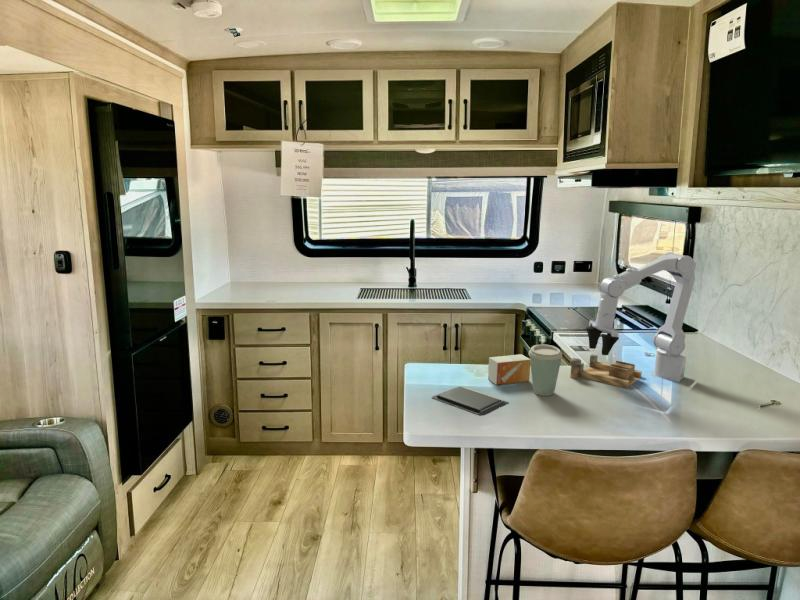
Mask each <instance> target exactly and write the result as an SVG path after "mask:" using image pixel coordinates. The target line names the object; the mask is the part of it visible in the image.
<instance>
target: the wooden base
mask: <svg viewBox="0 0 800 600" xmlns="http://www.w3.org/2000/svg"><path fill="white" fill-rule="evenodd" d="M598 358H599V356H598V354H591V355H590V356H589V366H588V367H587V368H585V367H584V366H585V364H584V363H583V362H582V359H580V358H574V357H572V358H570V360H569V365H570V377H569V378H571V379H574V380H576V379H578V378H583V379H588V380H590V381H591V380H592V381H596V382H600V383H605V384H608V385H613V386H617V387H621V388H624V389H625V388H626V389H627V388H629V387H630V386H631V385H633V384H634V383H636V381H638V380H639V379H641V378H642V370H637V369H635V370H634V378H633V379H632V380H631V381H629V380H624V379H620V378H616V377H611V376H609V368H610V366H611V364H609V363H605V362H600V361H598ZM584 368H585V369H584Z"/></svg>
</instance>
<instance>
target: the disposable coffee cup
mask: <svg viewBox="0 0 800 600" xmlns="http://www.w3.org/2000/svg"><path fill="white" fill-rule="evenodd" d="M528 356H529V359H530V373H531V380H532V381H531V382H532V388H533V391H534V393H535V394H536V393H537V394H536V395H538V394H539V395H538V396H545V395H546V396H547V397H549V396H552V395H553V394H554V392H555V391H556V386H557V381H558V376H559V372H560V367H561V362H562V359H563V353H562V351H561V350H560V348H559V347H557V346H555V345H550V344H543V343H541V344H535V345H532V346H531V347H530V350H528Z"/></svg>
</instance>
